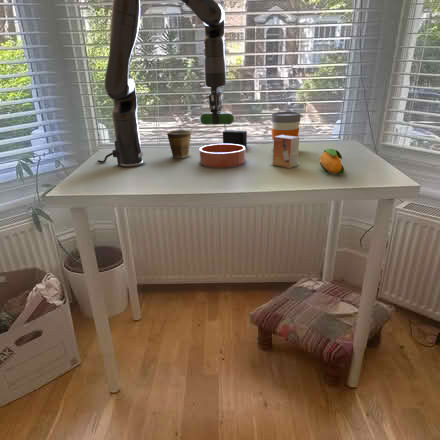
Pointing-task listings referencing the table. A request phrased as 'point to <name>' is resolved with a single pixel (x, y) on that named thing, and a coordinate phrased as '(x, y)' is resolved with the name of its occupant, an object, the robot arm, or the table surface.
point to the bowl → (222, 155)
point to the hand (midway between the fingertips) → (216, 123)
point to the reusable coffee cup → (285, 124)
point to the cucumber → (223, 118)
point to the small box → (285, 151)
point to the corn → (331, 161)
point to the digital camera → (235, 137)
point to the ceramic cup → (179, 143)
